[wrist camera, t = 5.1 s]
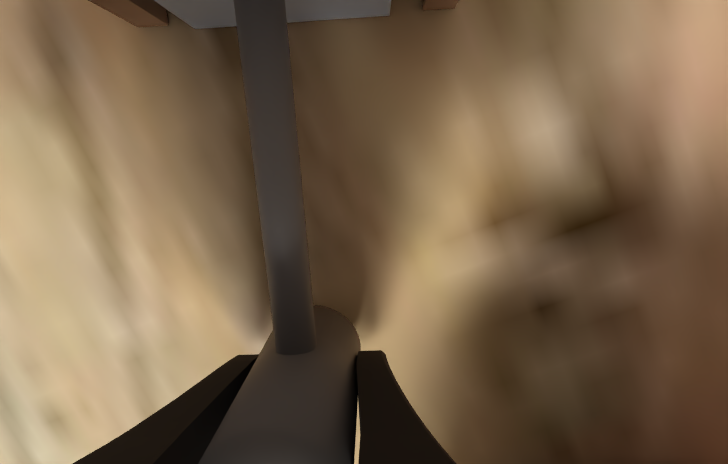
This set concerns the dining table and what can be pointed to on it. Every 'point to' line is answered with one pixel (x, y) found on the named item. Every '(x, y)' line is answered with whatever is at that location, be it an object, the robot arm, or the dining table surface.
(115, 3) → the lane rack
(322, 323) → the grey mallet
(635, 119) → the dining table surface
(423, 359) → the dining table surface
